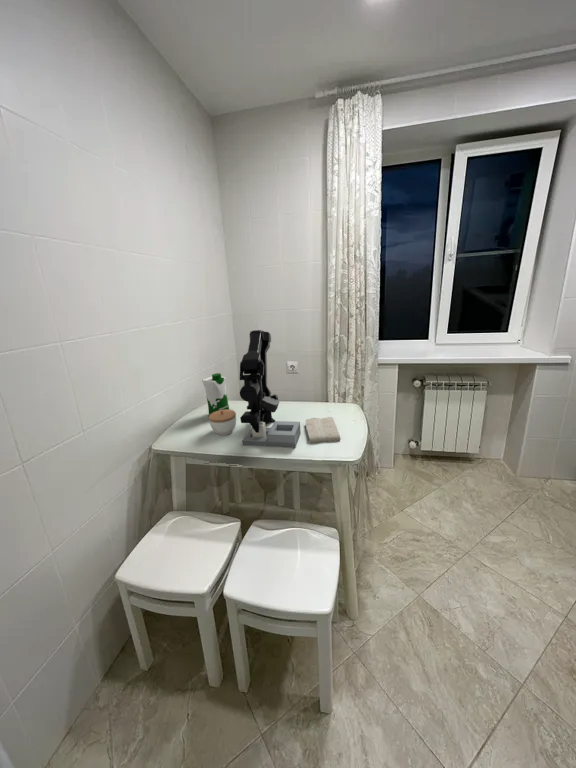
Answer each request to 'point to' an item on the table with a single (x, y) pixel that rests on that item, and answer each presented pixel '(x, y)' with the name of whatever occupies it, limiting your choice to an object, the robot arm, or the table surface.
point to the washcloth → (322, 430)
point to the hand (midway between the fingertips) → (259, 430)
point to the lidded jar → (223, 421)
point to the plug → (260, 430)
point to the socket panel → (265, 441)
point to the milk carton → (216, 393)
